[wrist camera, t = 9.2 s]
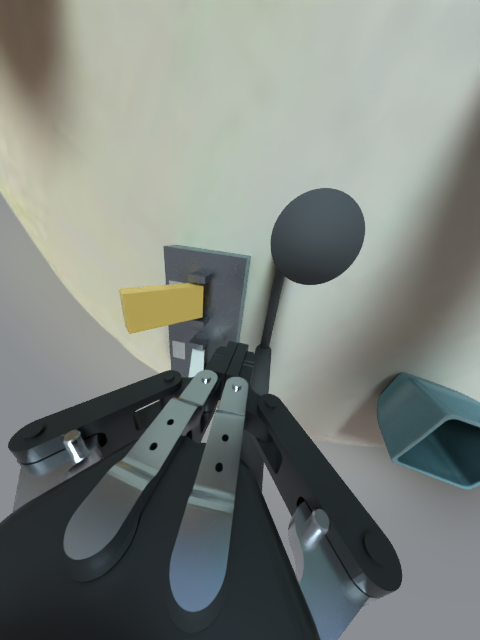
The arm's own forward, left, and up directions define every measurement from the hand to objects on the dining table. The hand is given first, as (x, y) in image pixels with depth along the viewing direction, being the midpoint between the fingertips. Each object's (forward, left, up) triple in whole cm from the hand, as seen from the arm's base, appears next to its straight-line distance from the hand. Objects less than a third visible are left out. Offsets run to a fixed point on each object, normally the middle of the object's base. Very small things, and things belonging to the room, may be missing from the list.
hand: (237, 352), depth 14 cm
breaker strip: (+7, +4, -12) cm, 15 cm away
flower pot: (-23, +9, -13) cm, 28 cm away
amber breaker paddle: (+7, 0, -8) cm, 11 cm away
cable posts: (-2, 0, -12) cm, 13 cm away
